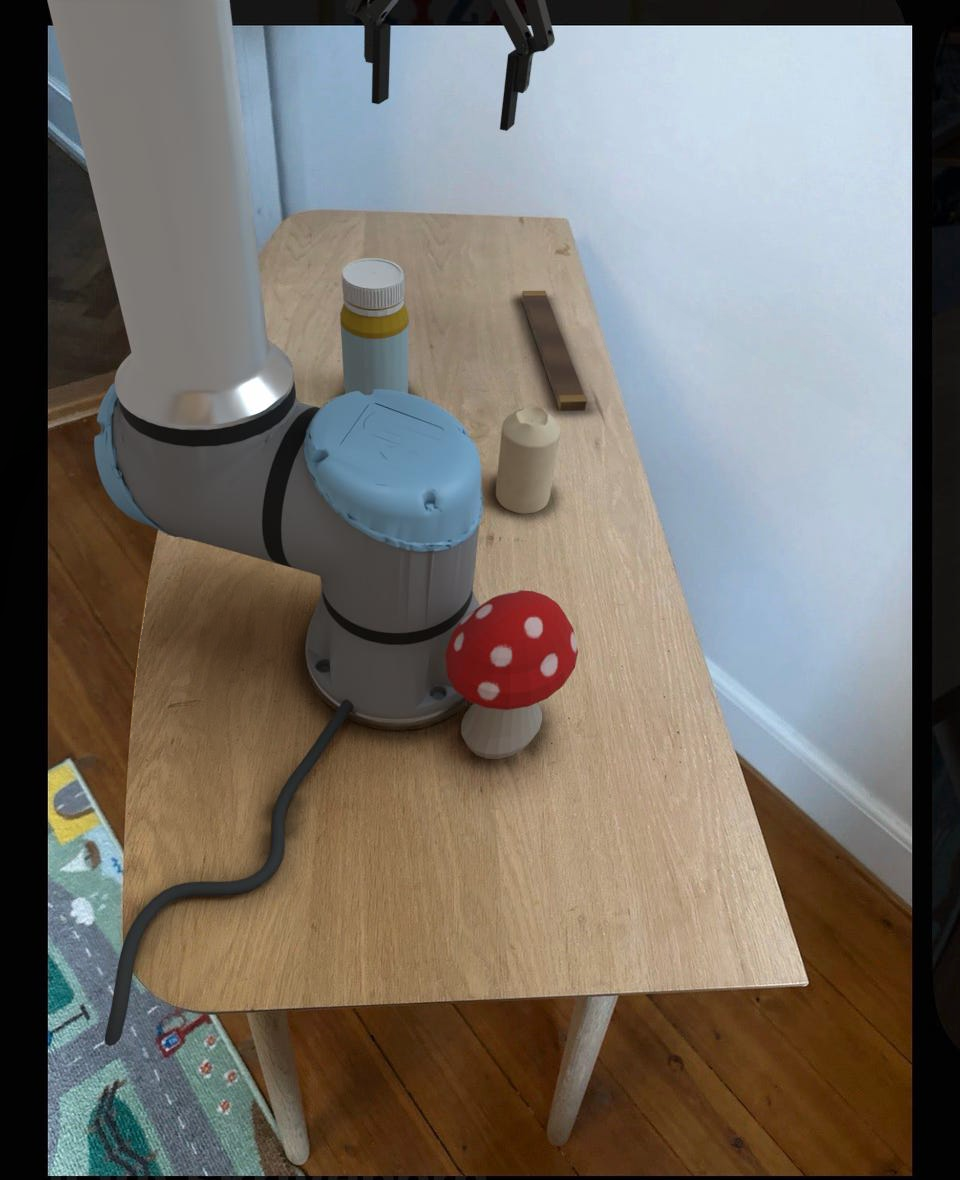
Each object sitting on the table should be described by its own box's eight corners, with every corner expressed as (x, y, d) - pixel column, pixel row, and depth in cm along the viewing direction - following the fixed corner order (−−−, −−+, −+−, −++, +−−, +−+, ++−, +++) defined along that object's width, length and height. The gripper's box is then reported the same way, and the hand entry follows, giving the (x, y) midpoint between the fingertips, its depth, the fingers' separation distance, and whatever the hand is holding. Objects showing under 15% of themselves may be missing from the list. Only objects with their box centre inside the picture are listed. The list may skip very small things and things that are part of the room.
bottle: (412, 383, 100) (413, 259, 89) (402, 420, 96) (402, 294, 85) (352, 377, 101) (345, 252, 89) (339, 413, 96) (330, 286, 85)
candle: (545, 518, 87) (558, 438, 79) (490, 508, 87) (498, 427, 80) (553, 483, 90) (566, 403, 83) (500, 473, 91) (509, 393, 83)
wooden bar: (585, 410, 99) (587, 400, 98) (558, 411, 99) (560, 401, 98) (544, 299, 115) (545, 290, 114) (521, 299, 115) (522, 290, 114)
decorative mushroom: (482, 803, 65) (497, 685, 54) (418, 722, 70) (420, 597, 59) (583, 739, 70) (616, 617, 59) (516, 667, 74) (536, 541, 63)
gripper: (613, -141, 75) (570, 128, 89) (343, -183, 79) (343, 82, 93) (595, -138, 70) (552, 148, 84) (306, -183, 73) (313, 98, 88)
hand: (442, 114), depth 89 cm, fingers open, 13 cm apart
